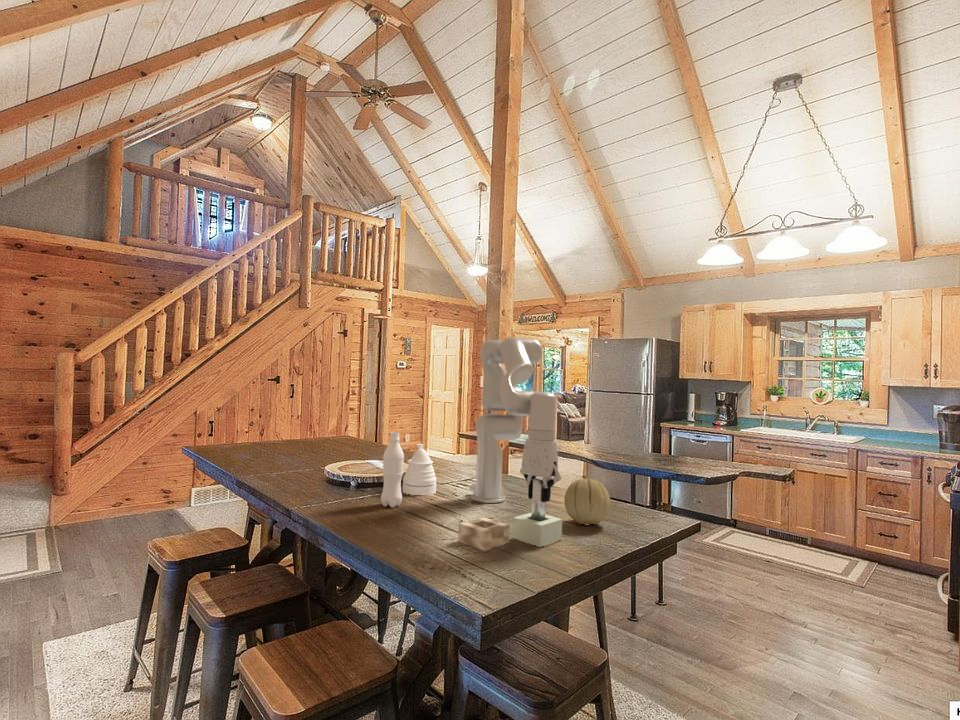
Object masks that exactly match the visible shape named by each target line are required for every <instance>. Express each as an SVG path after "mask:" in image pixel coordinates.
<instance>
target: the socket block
mask: <svg viewBox="0 0 960 720" xmlns="http://www.w3.org/2000/svg"><path fill="white" fill-rule="evenodd" d="M510 529H511V528H510V524H507V523H503V522H501V521H498V520H494V519H492V518H488V517H485V516H481V517H479V518H474V519H470V520H467V521H466V520H465V521H462V522H459V523H458V534H457V536H458V537H457V542H459V543H462V544H464V545H467V546H469V547H473V548H475V549H477V548H478V550H481V551H483V552H486V551H489V550H493V549H496V548H499V547H502V546H504V544H505V545H507V544H506V543H508V544H510ZM501 545H502V546H501ZM498 546H499V547H498ZM495 547H496V548H495ZM492 548H493V549H492Z"/></svg>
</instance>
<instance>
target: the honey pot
mask: <svg viewBox="0 0 960 720" xmlns="http://www.w3.org/2000/svg"><path fill="white" fill-rule="evenodd" d="M416 447H417V450H416V451H415V452H414V453H413V455H412V457H411V459H408V460H406V461H407V462H406V463H407V464H408V466H407V468H406V472H405V473H404V476H403V478H402V479H403V480H402V493H403V494H405V493H406V494H405V495H408V494H410V495H409V496H414V495H427V496H431V495H430V494H433V495H434V493H435V494H436V493H437V477H436V473H435V469H434V467H433V463H434V461H433V460H431V458H430V455H429V454H428V451H427V450H426V449H424V444H423V443H416Z"/></svg>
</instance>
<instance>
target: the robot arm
mask: <svg viewBox="0 0 960 720" xmlns="http://www.w3.org/2000/svg"><path fill="white" fill-rule="evenodd" d="M542 356H543V347H542V345H541V343H540V342H539V340H537V339H536V338H531V337H530V338H529V337H516V336H513V337H507V338H505V339H489V340H486V341H485V340H484V342H483V343H482V344H481V347H480V363H481V365H482V371H483V372H482V373H483V376H482V377H483V378H482V393H481V404H482V405H481V406H482V408H483V409H484V410H487V411H491V412H493V411H495V412H506V413H507V414H500V413H486V414H482V415H480V416H479V417H478V418H477V419H476V422H475V428H476V429H475V430H476V441H477V443H476V444H477V445H476V446H477V449H476V470H475V471H476V473H475V474H476V476H475V483H472V484H471V486H469V487H468V489H469V490H470V491H472V492H473V493H472V494H470V499H471V500H472V501H475V502H479V503H485V504H497V503H498V502H499V503H502V502H504V501H505V500H506V497H505V495H503V494H502V477H503V476H502V475H503V474H502V473H503V450H502V448H501V446H500V444H499V443H498V441H513V440H515V441H516V440H519V439H520V437H521V436H522V433H523V426H524V425H523V423H524V416H526V417H528V429H527V430H525V434H526V435H528V436H527V439H525V442H524V445H523V446H524V447H523V451H522V452H523V453H522V458H521V468H520V470H519V473H520V474H521V475H522V476H523V478H524V479H525V481H526V484H527V485H528V489H527V490H528V493H527V495H528V499H529V500H532V486H533V478H543V484H544V488H542V498H541V501H542V502H546V503H547V502H550V499H551V489H552V488H553V486H554V485H555V484H556V483H558V482H560V481H561V480H562V476H561V473H560V472H559V454H558V445H557V442H556V440H555V438H556V436H555V435H556V418H557V417H556V413H557V398H556V395H555V394H553V393H551V392H550V393H548V392H545V391H537V390H533V391H532V390H522V389H521V388H520V387H519V386H518V385H520V384H522V383H525V382H527V381H528V380H529V379H531V377H532V376H533V374H534V366H533V365H534V364H537V363H539V362H540V361H541V359H542ZM502 364H503V365H504V366H503V365H502ZM504 367H505V368H504Z"/></svg>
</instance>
